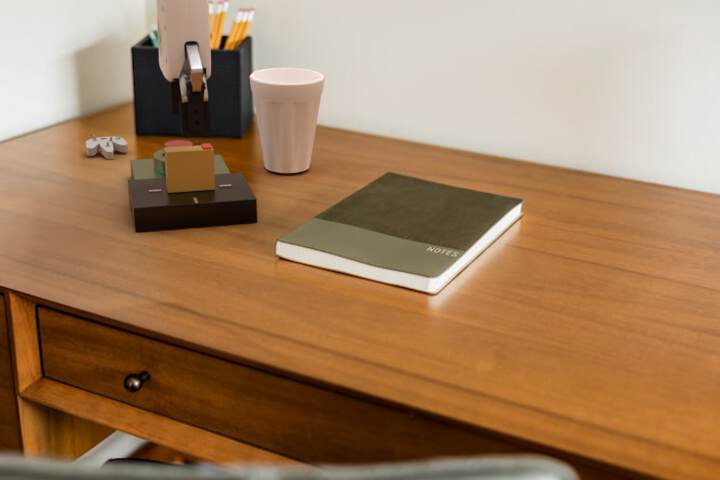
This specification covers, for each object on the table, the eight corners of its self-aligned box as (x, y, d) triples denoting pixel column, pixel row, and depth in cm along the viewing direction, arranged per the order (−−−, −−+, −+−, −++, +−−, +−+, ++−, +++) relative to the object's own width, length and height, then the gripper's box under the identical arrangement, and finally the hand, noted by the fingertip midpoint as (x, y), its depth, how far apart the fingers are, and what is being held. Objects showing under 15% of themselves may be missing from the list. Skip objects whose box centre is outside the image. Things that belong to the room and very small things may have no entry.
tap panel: (135, 232, 102) (133, 206, 101) (129, 202, 111) (127, 178, 110) (257, 222, 106) (256, 197, 105) (241, 194, 115) (241, 170, 114)
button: (166, 162, 115) (166, 148, 114) (163, 153, 118) (163, 140, 117) (195, 160, 116) (194, 147, 115) (191, 152, 119) (190, 139, 118)
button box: (136, 198, 112) (134, 167, 111) (131, 175, 120) (129, 146, 119) (232, 191, 116) (231, 161, 114) (220, 169, 124) (219, 141, 122)
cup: (287, 185, 118) (287, 87, 113) (235, 168, 124) (233, 74, 119) (338, 169, 126) (340, 76, 120) (287, 153, 131) (287, 64, 126)
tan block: (168, 193, 106) (165, 150, 104) (166, 187, 107) (164, 145, 105) (215, 189, 107) (213, 147, 105) (212, 184, 109) (211, 142, 107)
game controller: (98, 162, 125) (96, 144, 124) (57, 144, 132) (55, 127, 131) (134, 154, 129) (132, 136, 128) (92, 137, 136) (90, 120, 135)
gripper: (139, -37, 104) (150, 108, 111) (154, -18, 89) (165, 148, 96) (204, -38, 106) (211, 104, 113) (229, -20, 91) (235, 143, 98)
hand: (190, 124), depth 104 cm, fingers open, 9 cm apart
